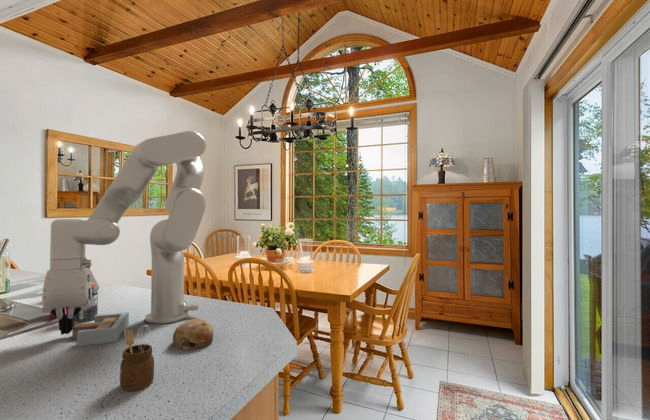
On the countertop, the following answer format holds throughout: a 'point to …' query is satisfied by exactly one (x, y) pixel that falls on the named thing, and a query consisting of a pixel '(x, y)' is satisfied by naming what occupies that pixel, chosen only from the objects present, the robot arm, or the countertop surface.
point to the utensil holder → (136, 364)
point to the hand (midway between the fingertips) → (66, 332)
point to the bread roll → (193, 334)
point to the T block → (93, 326)
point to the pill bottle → (92, 311)
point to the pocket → (104, 330)
